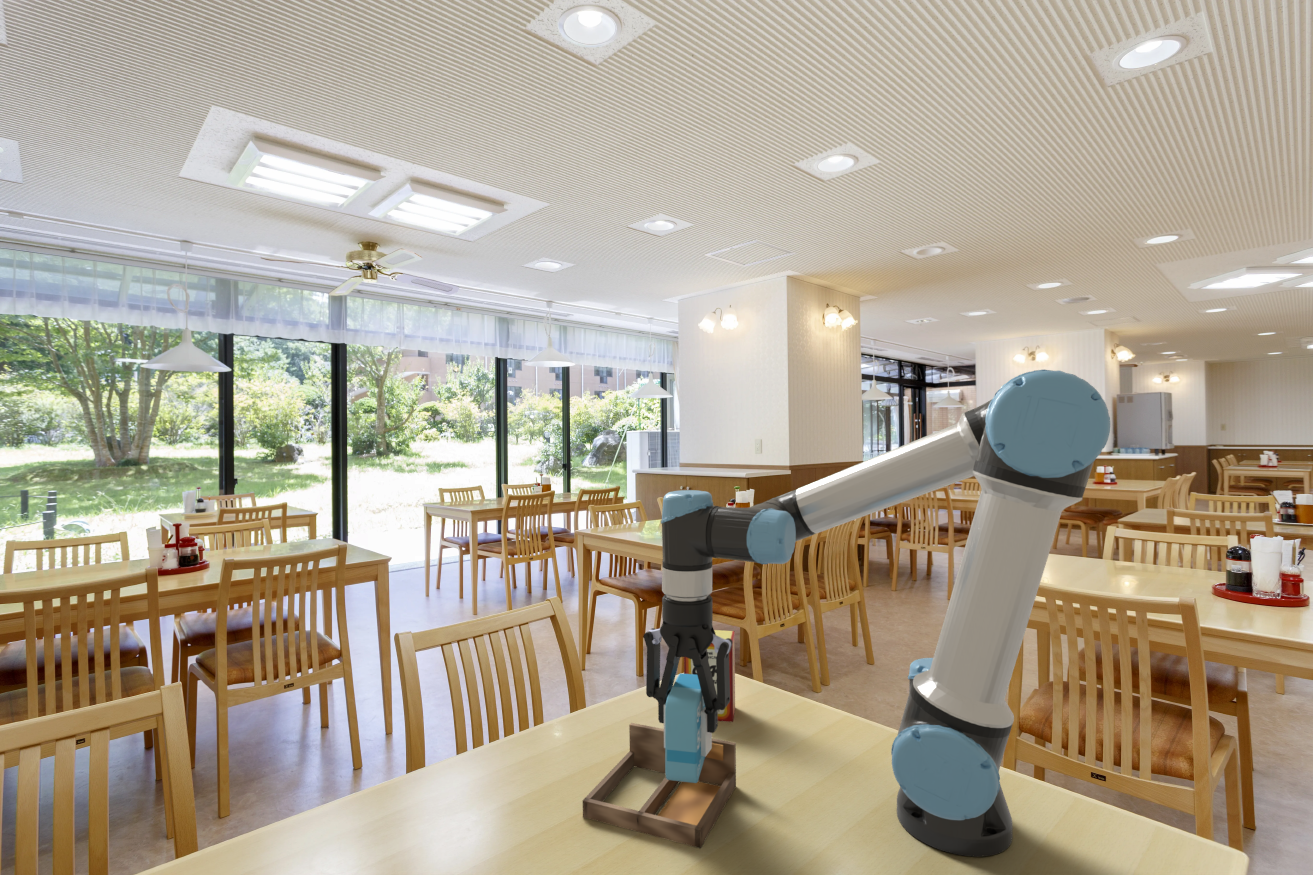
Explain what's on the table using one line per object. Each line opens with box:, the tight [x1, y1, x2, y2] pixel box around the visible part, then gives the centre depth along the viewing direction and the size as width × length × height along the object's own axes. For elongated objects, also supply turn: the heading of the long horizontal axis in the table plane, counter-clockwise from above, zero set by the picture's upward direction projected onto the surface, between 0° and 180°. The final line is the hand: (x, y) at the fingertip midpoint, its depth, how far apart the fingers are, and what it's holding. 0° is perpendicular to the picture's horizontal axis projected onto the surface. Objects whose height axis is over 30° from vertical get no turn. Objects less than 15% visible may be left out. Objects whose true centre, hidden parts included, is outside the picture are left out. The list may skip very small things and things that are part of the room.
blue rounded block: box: [664, 673, 705, 783], centre depth 99 cm, size 12×4×12 cm, turn 167°
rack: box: [582, 722, 737, 849], centre depth 101 cm, size 18×17×7 cm
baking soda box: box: [683, 629, 736, 723], centre depth 131 cm, size 10×6×16 cm
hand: (687, 747), depth 99 cm, fingers closed on blue rounded block, 5 cm apart
